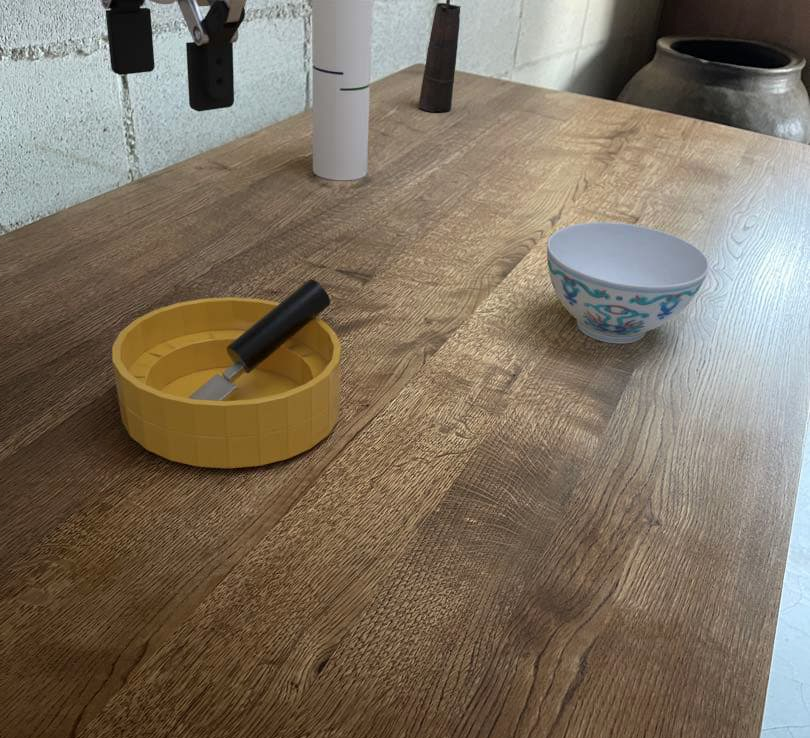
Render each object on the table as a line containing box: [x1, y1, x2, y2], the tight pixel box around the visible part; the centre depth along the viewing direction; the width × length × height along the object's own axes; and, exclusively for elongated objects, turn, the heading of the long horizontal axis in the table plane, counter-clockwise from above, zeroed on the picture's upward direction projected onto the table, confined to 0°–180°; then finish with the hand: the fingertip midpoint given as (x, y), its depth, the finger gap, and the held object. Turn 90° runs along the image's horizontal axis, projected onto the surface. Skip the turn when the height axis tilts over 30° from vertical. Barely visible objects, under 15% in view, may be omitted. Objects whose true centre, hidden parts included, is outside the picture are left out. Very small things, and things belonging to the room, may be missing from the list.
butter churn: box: [418, 0, 461, 113], centre depth 138 cm, size 9×10×28 cm
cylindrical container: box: [311, 0, 374, 181], centre depth 113 cm, size 7×7×25 cm
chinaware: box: [546, 221, 710, 345], centre depth 88 cm, size 15×15×8 cm
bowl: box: [111, 296, 342, 469], centre depth 72 cm, size 17×17×6 cm
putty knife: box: [188, 278, 331, 401], centre depth 72 cm, size 16×3×3 cm, turn 134°
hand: (171, 89), depth 64 cm, fingers open, 9 cm apart
